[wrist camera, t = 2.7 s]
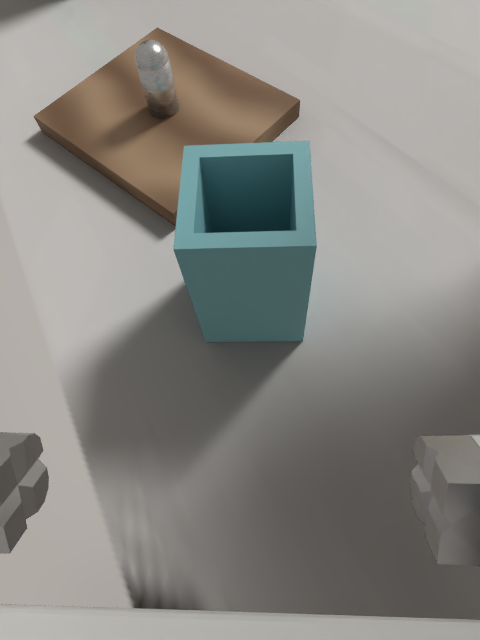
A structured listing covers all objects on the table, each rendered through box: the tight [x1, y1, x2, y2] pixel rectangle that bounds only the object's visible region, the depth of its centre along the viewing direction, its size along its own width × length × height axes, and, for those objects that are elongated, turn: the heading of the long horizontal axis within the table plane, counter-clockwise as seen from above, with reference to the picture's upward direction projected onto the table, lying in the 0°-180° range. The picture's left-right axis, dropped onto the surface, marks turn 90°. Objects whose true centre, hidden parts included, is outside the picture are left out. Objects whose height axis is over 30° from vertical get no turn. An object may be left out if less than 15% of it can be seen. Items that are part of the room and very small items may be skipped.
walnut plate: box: [34, 28, 300, 226], centre depth 36 cm, size 14×16×2 cm
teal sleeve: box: [174, 141, 317, 342], centre depth 25 cm, size 6×6×10 cm
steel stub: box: [135, 40, 179, 119], centre depth 33 cm, size 2×2×5 cm
